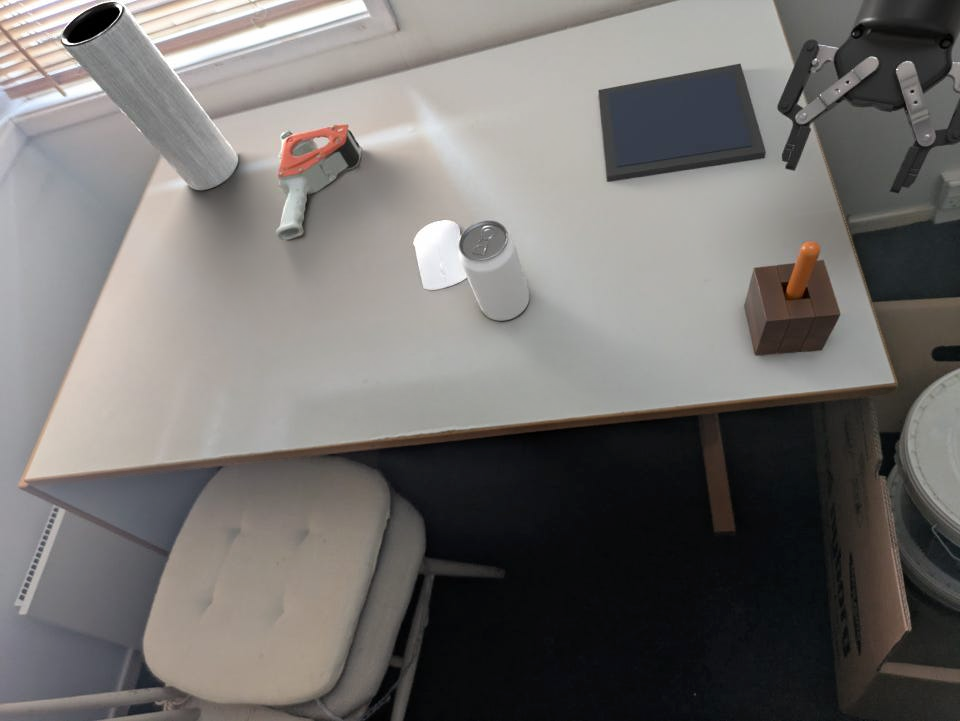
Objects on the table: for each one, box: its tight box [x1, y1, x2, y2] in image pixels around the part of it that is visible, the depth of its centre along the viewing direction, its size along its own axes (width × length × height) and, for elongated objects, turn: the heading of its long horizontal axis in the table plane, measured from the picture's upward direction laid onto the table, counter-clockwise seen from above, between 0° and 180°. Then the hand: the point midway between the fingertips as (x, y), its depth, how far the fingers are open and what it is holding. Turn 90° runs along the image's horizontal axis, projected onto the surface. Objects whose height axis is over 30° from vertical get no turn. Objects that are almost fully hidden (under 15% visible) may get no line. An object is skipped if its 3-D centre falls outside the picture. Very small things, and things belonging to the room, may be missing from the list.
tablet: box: [597, 63, 767, 182], centre depth 82 cm, size 20×18×1 cm
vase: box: [60, 0, 239, 191], centre depth 92 cm, size 10×10×27 cm
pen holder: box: [743, 259, 841, 356], centre depth 61 cm, size 7×7×7 cm
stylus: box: [784, 240, 822, 301], centre depth 58 cm, size 2×2×14 cm
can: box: [459, 219, 530, 322], centre depth 70 cm, size 6×6×12 cm
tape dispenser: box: [274, 124, 363, 241], centre depth 93 cm, size 18×5×20 cm
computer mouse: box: [413, 219, 468, 291], centre depth 80 cm, size 7×12×2 cm, turn 11°
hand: (840, 180), depth 53 cm, fingers open, 8 cm apart
